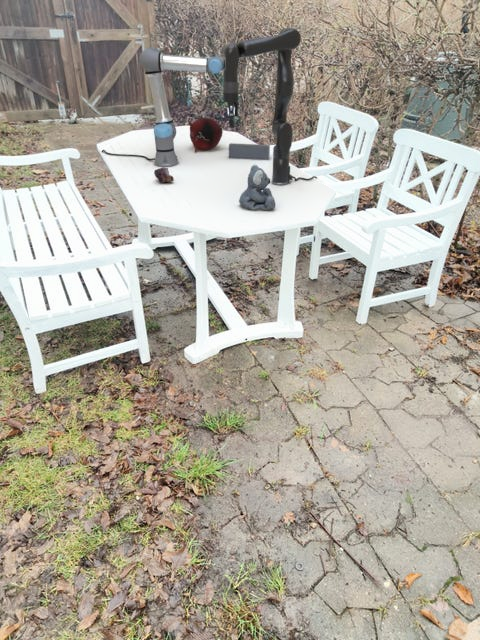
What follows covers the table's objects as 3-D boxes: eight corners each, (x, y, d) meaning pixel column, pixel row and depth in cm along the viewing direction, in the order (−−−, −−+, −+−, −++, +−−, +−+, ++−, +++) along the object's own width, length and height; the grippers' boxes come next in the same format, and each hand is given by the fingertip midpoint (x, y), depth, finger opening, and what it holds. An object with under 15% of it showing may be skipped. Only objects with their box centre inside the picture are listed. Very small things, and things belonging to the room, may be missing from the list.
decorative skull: (188, 123, 330) (185, 120, 306) (219, 116, 329) (218, 112, 306) (194, 153, 337) (192, 152, 313) (225, 146, 336) (225, 145, 313)
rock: (168, 180, 269) (152, 182, 265) (166, 165, 265) (150, 167, 261) (175, 182, 260) (159, 184, 256) (174, 166, 256) (157, 168, 252)
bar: (228, 158, 305) (228, 144, 300) (230, 156, 308) (230, 143, 303) (268, 160, 300) (268, 146, 295) (269, 158, 304) (269, 145, 299)
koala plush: (276, 211, 223) (277, 171, 212) (240, 212, 222) (240, 172, 211) (271, 199, 237) (272, 161, 226) (237, 200, 236) (237, 162, 225)
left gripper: (234, 84, 269) (234, 122, 281) (242, 79, 289) (242, 114, 301) (222, 83, 270) (223, 121, 282) (231, 78, 291) (231, 114, 303)
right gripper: (238, 93, 218) (239, 128, 227) (237, 89, 230) (238, 122, 239) (223, 93, 218) (224, 128, 227) (223, 89, 230) (223, 123, 239)
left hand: (233, 118), depth 292 cm, fingers open, 13 cm apart
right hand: (231, 125), depth 233 cm, fingers open, 8 cm apart
